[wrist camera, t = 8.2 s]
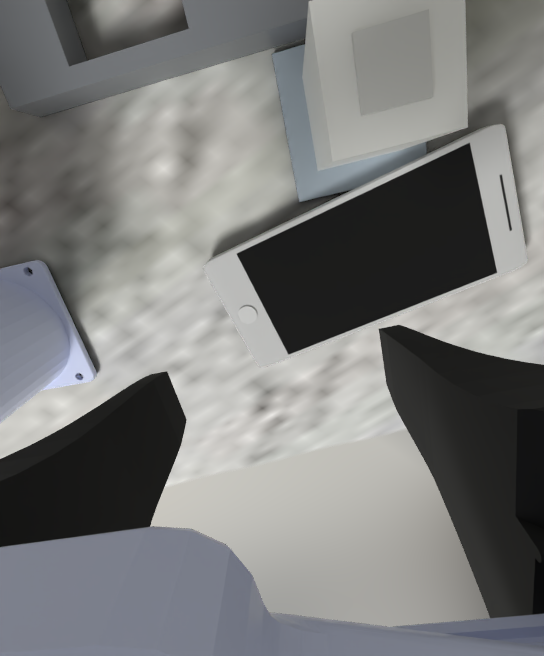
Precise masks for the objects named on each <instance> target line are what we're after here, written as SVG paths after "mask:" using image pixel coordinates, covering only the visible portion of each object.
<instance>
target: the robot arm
mask: <svg viewBox="0 0 544 656" xmlns="http://www.w3.org/2000/svg"><path fill="white" fill-rule="evenodd" d="M28 268H30V269H31V270H32V272H33V274H31V273H30V272H29V270H28ZM379 333H380V340H381V347H382V354H383V361H384V369H385V376H386V383H387V386H388V389H389V392H390V394H391V397H392V400H393V402H394V405H395V407H396V410H397V411H398V413H399V415H400V417H401V419H402V421H403V422H404V424H405V426H406V428H407V430H408V431H409V433H410V435H411V437H412V439H413V440H414V442H415V444H416V446H417V447H418V449H419V451H420V453H421V455H422V456H423V458H424V460H425V462H426V464H427V465H428V467H429V469H430V471H431V473H432V475H433V477H434V479H435V482H436V484H437V486H438V489H439V491H440V493H441V496H442V498H443V500H444V503H445V505H446V507H447V510H448V512H449V515H450V517H451V519H452V522H453V524H454V527H455V529H456V531H457V534H458V537H459V539H460V541H461V544H462V546H463V548H464V551H465V554H466V556H467V559H468V561H469V564H470V567H471V569H472V571H473V574H474V577H475V579H476V582H477V584H478V587H479V589H480V592H481V594H482V597H483V599H484V602H485V605H486V608H487V610H488V613H489V616H490V618H489V619H476V620H465V621H453V622H441V623H429V624H417V625H406V626H393V627H387V626H378V625H370V624H362V623H355V622H346V621H338V620H329V619H321V618H314V617H306V616H298V615H290V614H282V613H272V612H268V610H267V609H266V607H265V605H264V603H263V601H262V598H261V596H260V593H259V591H258V588H257V586H256V583H255V581H254V578H253V576H252V574H251V573H250V572H249V571H248V569H247V568H246V567H245V566H244V565H243V563H242V562H241V561H240V560H239V559H238V557H237V556H236V555H235V554H234V553H233V552H232V550H231V549H230V548H229V547H228V546H227V545H226V544H224V543H222V542H219V541H217V540H215V539H213V538H211V537H209V536H206V535H204V534H202V533H200V532H198V531H195V530H193V529H187V528H186V529H185V528H170V527H154V526H153V527H150V525H151V521H152V518H153V515H154V512H155V509H156V507H157V504H158V501H159V499H160V497H161V494H162V491H163V489H164V487H165V484H166V482H167V479H168V477H169V474H170V472H171V469H172V467H173V464H174V462H175V459H176V456H177V454H178V451H179V449H180V446H181V442H182V438H183V434H184V429H185V424H186V417H185V415H184V412H183V410H182V407H181V405H180V403H179V400H178V398H177V395H176V393H175V390H174V388H173V385H172V383H171V380H170V378H169V375H168V373H167V371H166V372H161V373H156V374H151V375H149V376H146V377H144V378H142V379H140V380H139V381H137V382H135V383H134V384H132V385H130V386H129V387H127V388H126V389H124V390H123V391H121V392H119V393H118V394H116V395H115V396H113V397H112V398H110V399H109V400H107V401H106V402H104V403H103V404H101V405H100V406H98V407H96V408H95V409H93V410H92V411H90V412H88V413H87V414H85V415H84V416H82V417H80V418H79V419H77V420H75V421H74V422H72V423H71V424H69V425H67V426H65V427H64V428H62V429H60V430H58V431H57V432H55V433H53V434H51V435H49V436H47V437H45V438H43V439H42V440H40V441H38V442H36V443H34V444H32V445H30V446H28V447H26V448H24V449H21V450H19V451H17V452H15V453H13V454H11V455H8V456H6V457H4V458H2V459H0V656H544V365H541V364H534V363H526V362H520V361H515V360H509V359H504V358H500V357H495V356H491V355H486V354H482V353H478V352H475V351H471V350H468V349H465V348H461V347H458V346H455V345H452V344H449V343H446V342H443V341H440V340H438V339H435V338H432V337H430V336H427V335H425V334H422V333H420V332H417V331H415V330H412V329H410V328H407V327H404V326H401V325H397V326H392V327H387V328H382V329H379ZM79 373H80V374H82V375H83V377H81V376H80V375H79ZM96 376H97V373H96V370H95V368H94V366H93V363H92V361H91V359H90V357H89V355H88V353H87V351H86V348H85V346H84V344H83V342H82V340H81V338H80V336H79V333H78V331H77V329H76V327H75V325H74V323H73V320H72V318H71V316H70V314H69V312H68V310H67V308H66V305H65V303H64V301H63V299H62V297H61V295H60V293H59V290H58V288H57V286H56V284H55V282H54V280H53V278H52V275H51V273H50V271H49V269H48V267H47V265H46V264H45V263H44V262H43V261H40V260H34V261H30V262H26V263H21V264H17V265H13V266H9V267H4V268H0V423H1V422H3V421H4V420H5V419H6V418H7V417H9V416H10V415H11V414H12V413H14V412H15V411H16V410H17V409H19V408H20V407H21V406H22V405H24V404H25V403H26V402H27V401H29V400H30V399H31V398H32V397H33V396H35V395H36V394H37V393H38V392H40V391H41V390H46V389H52V388H57V387H63V386H68V385H74V384H80V383H85V382H90V381H93V380H94V379H95V377H96Z"/></svg>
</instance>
